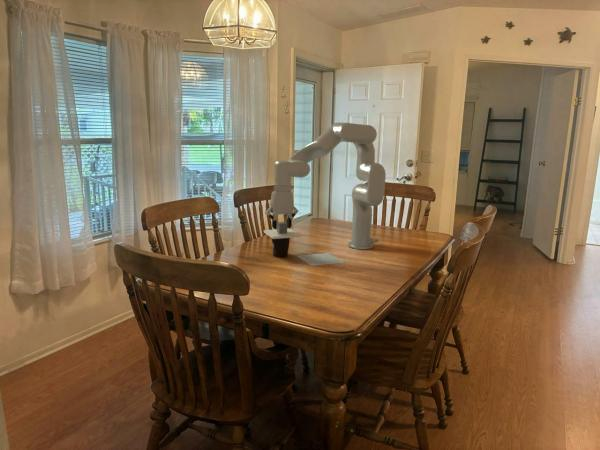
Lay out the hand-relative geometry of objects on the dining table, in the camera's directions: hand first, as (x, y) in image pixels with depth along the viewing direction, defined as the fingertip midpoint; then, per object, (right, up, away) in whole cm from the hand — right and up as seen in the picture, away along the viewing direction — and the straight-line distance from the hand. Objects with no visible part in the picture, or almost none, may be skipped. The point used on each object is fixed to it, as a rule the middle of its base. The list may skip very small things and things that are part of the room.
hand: (281, 227), depth 202 cm
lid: (0, -3, +1) cm, 3 cm away
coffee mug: (0, -13, +3) cm, 13 cm away
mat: (+17, -14, -2) cm, 23 cm away
